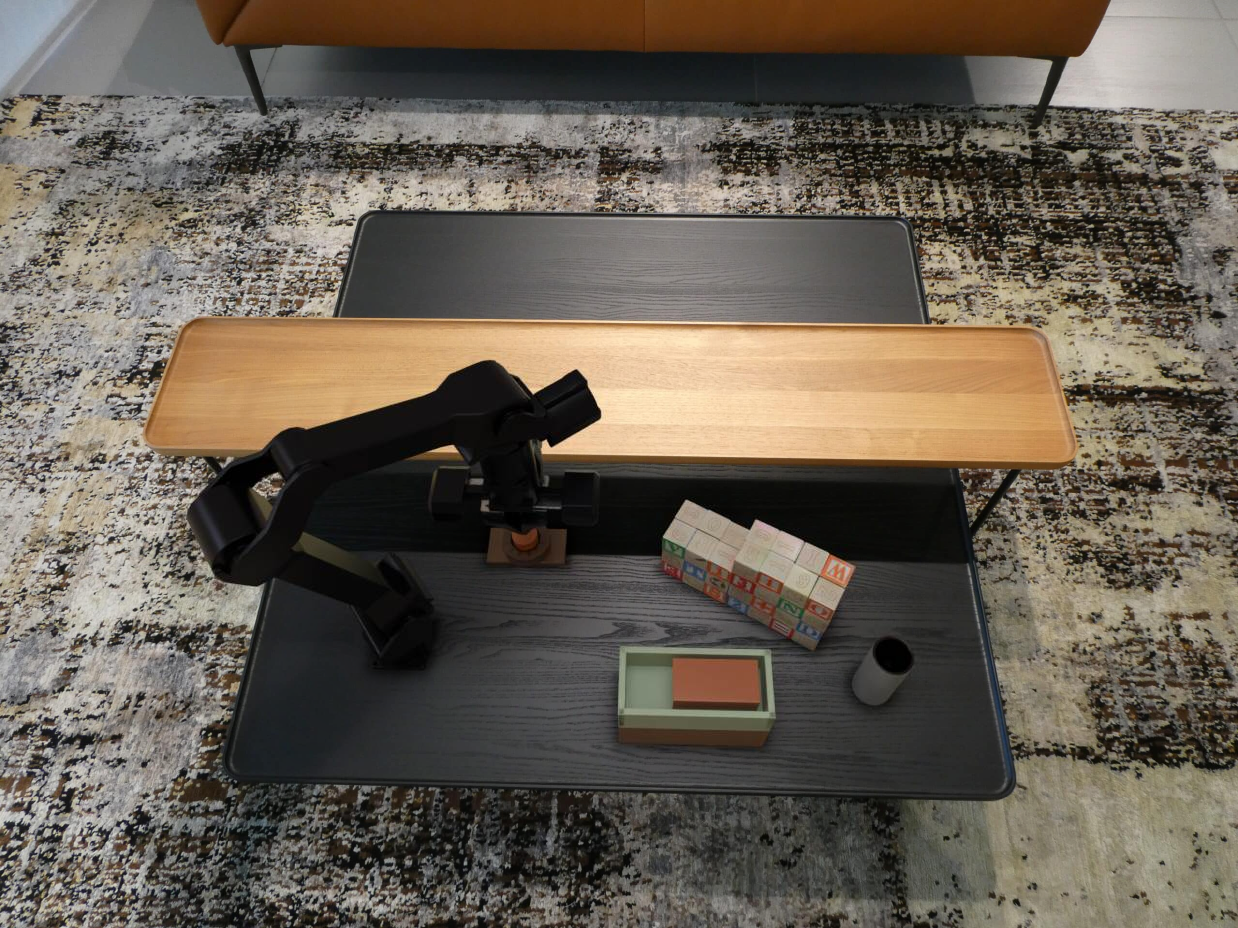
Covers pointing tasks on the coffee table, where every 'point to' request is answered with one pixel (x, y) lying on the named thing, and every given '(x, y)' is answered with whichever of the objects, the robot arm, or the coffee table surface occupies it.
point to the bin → (657, 723)
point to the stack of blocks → (757, 571)
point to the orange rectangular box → (715, 684)
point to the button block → (544, 553)
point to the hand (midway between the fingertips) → (523, 531)
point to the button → (525, 540)
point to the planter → (883, 670)
